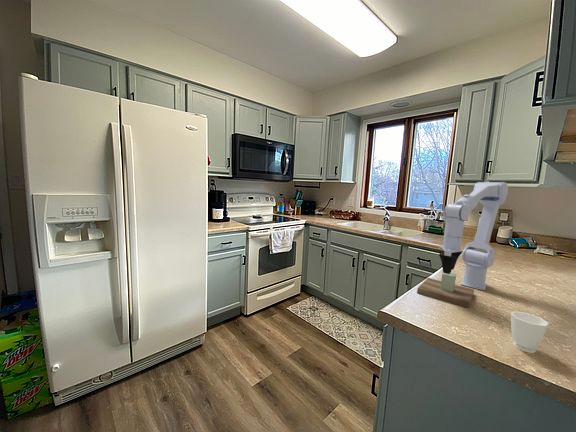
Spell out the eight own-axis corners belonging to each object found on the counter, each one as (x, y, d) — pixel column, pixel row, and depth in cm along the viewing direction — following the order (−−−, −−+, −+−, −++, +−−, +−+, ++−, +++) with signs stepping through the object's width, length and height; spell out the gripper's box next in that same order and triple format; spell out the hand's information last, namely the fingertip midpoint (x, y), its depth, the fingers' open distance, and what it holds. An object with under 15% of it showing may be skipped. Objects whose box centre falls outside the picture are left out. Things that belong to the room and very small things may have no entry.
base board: (427, 282, 105) (427, 277, 105) (473, 294, 94) (474, 289, 94) (417, 292, 93) (417, 287, 93) (468, 308, 82) (469, 302, 82)
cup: (507, 348, 62) (512, 318, 61) (502, 330, 70) (507, 304, 69) (547, 361, 57) (553, 329, 56) (536, 340, 66) (542, 312, 65)
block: (442, 286, 96) (444, 271, 95) (454, 289, 93) (456, 274, 93) (440, 288, 93) (442, 273, 92) (452, 292, 90) (454, 276, 90)
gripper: (444, 232, 99) (440, 264, 101) (436, 236, 88) (432, 272, 90) (465, 235, 94) (460, 268, 96) (460, 240, 84) (454, 277, 85)
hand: (448, 271), depth 93 cm, fingers open, 7 cm apart
